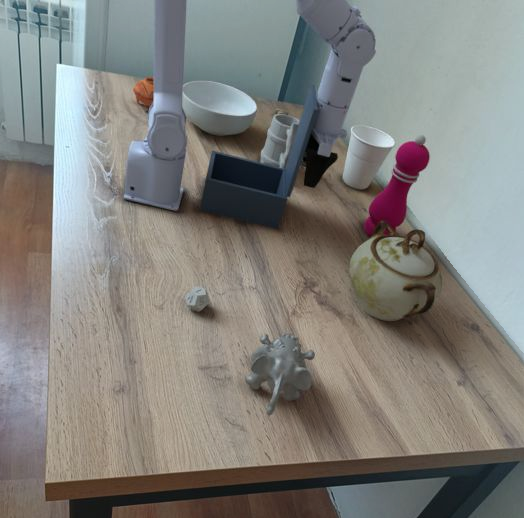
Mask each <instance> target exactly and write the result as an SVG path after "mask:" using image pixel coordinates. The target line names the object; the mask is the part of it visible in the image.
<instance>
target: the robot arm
mask: <svg viewBox="0 0 524 518" xmlns="http://www.w3.org/2000/svg"><path fill="white" fill-rule="evenodd" d="M153 2H154V3H153V5H154V7H153V78H154V101H153V103H152V105H151V107H150V108H149V109H148V113H147V120H148V124H147V125H148V126H147V134H146V137H145V138H143V140H142V141H141V140H140V141H139V140H132V141H131V143H130V145H129V149H128V155H127V161H126V170H125V183H124V194H123V199H124V200H127V201H130V202H134V203H139V204H143V205H148V206H153V207H157V208H161V209H166V210H169V211H174V212H177V211H179V209H180V204H181V200H182V198H183V194H184V191H185V190H184V187H182V180H183V174H184V167H185V160H186V154H187V145H188V136H187V132H186V123H187V117H186V116H185V112H184V110H183V107H182V94H183V85H184V69H185V47H186V46H185V45H186V23H187V2H188V1H187V0H154V1H153ZM296 13H297V15H298V16H300V17H301V19H303V21H305V23H307V25H308V26H309V27H310V28H311V29H312V30H313V31H314V32H315V33H316V34H317V35H318V36H319V37H320V38H321V39H322V40H323V41H324V42H325V43H326V44H328V45H330V46H331V50H330V52H329V56H328V59H327V63H326V65H325V68H324V70H323V74H322V77H321V81H320V84H319V87H318V90H317V92H316V99H317V106H318V112H317V115H316V119H315V122H314V125H313V128H312V131H311V134H310V137H309V140H308V143H307V146H306V150H305V152H306V155H307V158H306V157H303V159H302V161H304V162H306V167H305V170H304V176H303V186H304V187H308V188H312V189H316V187H317V186H318V184H319V182H320V181H321V179H322V178H323V176H324V174H325V173H326V172H327V171H328V169H329V168H330V167H331V166H332V165H333V164H335V163H336V162H337V161H338V158H339V156H338V153H337V152H333V148H334V145H335V144H336V142H337V141H338V140H339V139H340V138H342V139H347V136H348V132H347V130H346V129H344V128H343V126H344V124H345V121H346V118H347V115H348V112H349V109H350V106H351V104H352V102H353V98H354V95H355V92H356V90H357V87H358V84H359V82H360V79H361V75H362V72H363V70H364V68H365V66H366V65H367V64H369V63H370V62H371V61H372V59H374V57H375V55H376V53H377V50H376V49H375V48H376V42H377V41H376V40H377V39H376V38H375V37H376V35H375V33H374V30H373V29H372V28H371V27H370V26H369V24H368V23H367V22H366V21H365V20H364V19H363V17H362V15H361V11H360V9H359V8H358V6H356V5H354V6H353V7H352V6H351V4H350V3H349V2H348V1H347V0H296Z"/></svg>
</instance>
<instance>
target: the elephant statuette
mask: <svg viewBox="0 0 524 518" xmlns="http://www.w3.org/2000/svg"><path fill="white" fill-rule="evenodd" d="M259 343H261V346H258V347H257V348H256V349H254V350H253V351H252V353H251V356H250V358H251V362H252V364H251V367H250V371H251V373H252V374H249V375H247V376H245V377H246V378H245V382H246V384H247V385H248V386H249V387H250V388H251V389H253V390H259V389H260V388H261V385H262V384H264V383H265V382H266V384H267V387H269V390H271V391H272V396H271V398H270V401H269V403H268V405H267V408H266V411H265V412H266V413H265V414H266V415H267V416H272V415H273V414H274V411H275V409H276V407H277V403H278V401H279V396H280V394H281V393H282V392H283V391H284V392H283V399H284V400H285V401H287V402H289V401H297V400H298V399H300V396H301V394H300V391H299V390H302V391H303V390H304V391H305V390H306V391H308V390H309V389H310V388H311V386H312V381H313V378H312V373H311V372H310V370H309V369H308V368H307V363H306V360H308V361H313V360H314V359H315V358H316V354H315V351H314V350H313V349H311V348H310V349H308V350H307V351H305V352H304V353H303V352H302V349H301V347H302V344H301V343H300V341H299V337H298V336H294V335H293V334H292V333H291V332H290V333H286V332H283V333H282V334H281V336H277V337H276V339H275V340H270V338H269V335H268V334H267V333H265V334H262V335H260V337H259Z"/></svg>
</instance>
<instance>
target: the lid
mask: <svg viewBox="0 0 524 518" xmlns="http://www.w3.org/2000/svg"><path fill="white" fill-rule="evenodd" d="M316 96H317V91H316V85H315V84H313V83H311V84H310V85H309V90H308V93H307V96H306V99H305V102H304V104H303V105H304V106H303V109H302V112H301V116H300V118H299V120H300V122H299V125H298V128H297V132H296V135H295V138H294V142H293V145H292V148H291V152H290V155H289V158H288V161H287V165H286V197H287V198H291V196H292V193H293V190H294V186H295V184H296V181H297V177H298V174H299V171H300V167H303V168H306V162H304V161H303V157H306V158H307V155H306V152H305V150H306V146H307V143H308V140H309V137H310V134H311V131H312V128H313V125H314V122H315V119H316V115H317V112H318V106H317V99H316Z"/></svg>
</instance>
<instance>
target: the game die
mask: <svg viewBox="0 0 524 518" xmlns="http://www.w3.org/2000/svg"><path fill="white" fill-rule="evenodd" d="M184 298H185V302H186V306H187V307H188V309H189V310H190V311H193V312H197V313H200V312H201V311H203V309H204V308H205V307H207V306H208V304H210V301H211V300H210V298H209V295H208V292H207V289H206V287H205V288H204V287H201V286H198V285H194V286H193V288H192V289H191V290H190V291H189V292H188V293H186V294H185V295H184Z"/></svg>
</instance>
